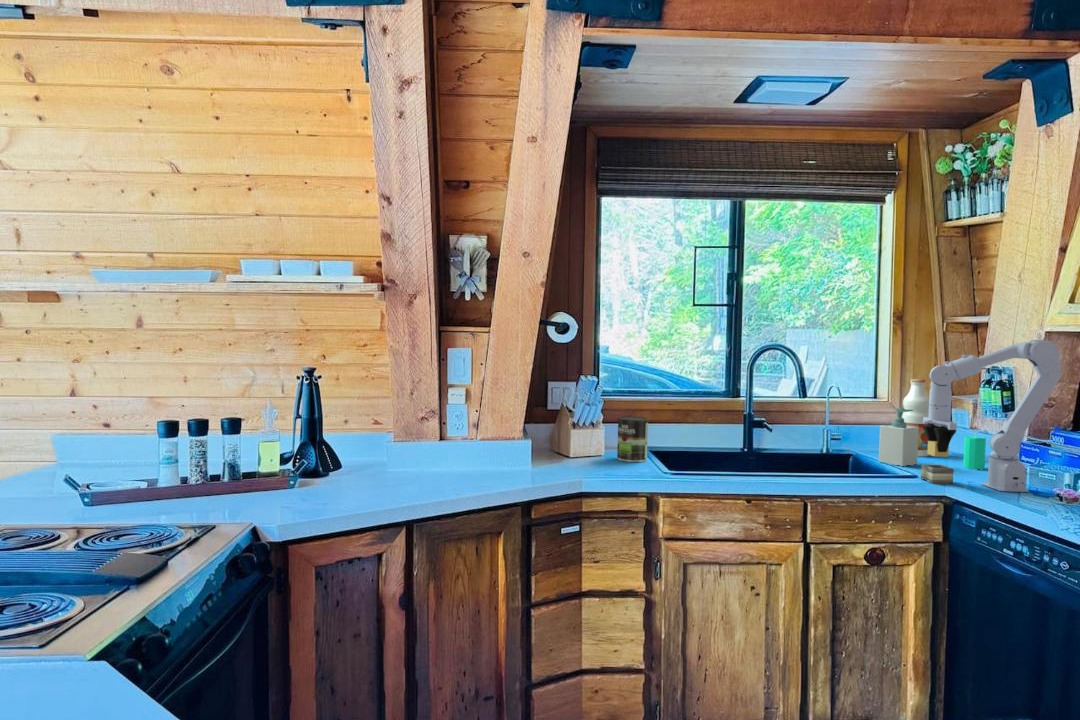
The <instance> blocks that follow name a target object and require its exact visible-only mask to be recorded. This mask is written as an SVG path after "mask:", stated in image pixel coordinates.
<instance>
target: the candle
mask: <svg viewBox="0 0 1080 720" xmlns="http://www.w3.org/2000/svg"><path fill="white" fill-rule="evenodd" d="M986 441H987V438H986V436H985V437H983V436H982V437H980V436H977V435H976V432H974V435H971V436H968V435H965V436H964V441H963V447H964V448H963V462H962V467H963V468H964V467H965V468H964V469H967V468H970V469H969V470H973V469H984V470H985V466H986V465H985V461H986Z"/></svg>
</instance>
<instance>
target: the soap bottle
mask: <svg viewBox="0 0 1080 720" xmlns="http://www.w3.org/2000/svg"><path fill="white" fill-rule="evenodd" d="M893 409H894V410H896V415H897V417H895V418H894V421H892V422H891V424H881V425H879V442H878V443H879V447H878V463H879V462H885V463H889V464H888V465H890V464H894V465H893V466H895V465H900V466H899V467H901V466H904V467H906V466H905V465H911V466H915V465H914V464H917V465H918V456H917V454H918V430H919V428H918V427H913V426H907V423H905V422H904V419H903V418H902V415H903V412H908V411H913V410H911V409H904V408H899V407H893ZM885 463H884V464H885Z"/></svg>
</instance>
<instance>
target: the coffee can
mask: <svg viewBox="0 0 1080 720" xmlns="http://www.w3.org/2000/svg"><path fill="white" fill-rule="evenodd" d="M617 424H618V425H617V452H616V453H617V455H616V456H617V457H616V459H617V460H618V461H621V462H626V463H644V462H647V461H648V436H649V434H648V433H649V432H648V431H649V418H646V417H644V416H643V417H642V416H619V417H618V418H617Z"/></svg>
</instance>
